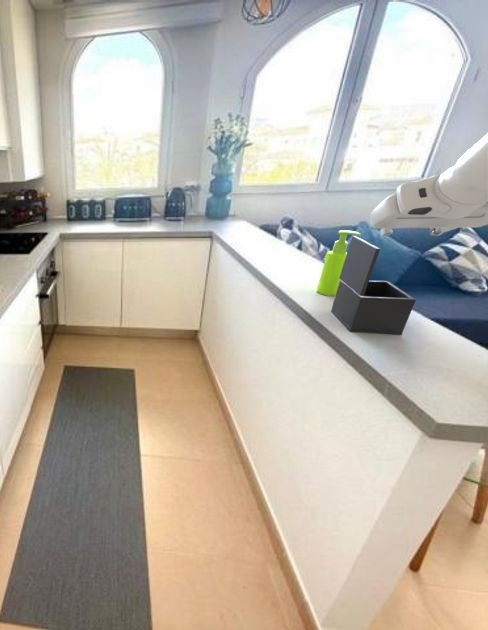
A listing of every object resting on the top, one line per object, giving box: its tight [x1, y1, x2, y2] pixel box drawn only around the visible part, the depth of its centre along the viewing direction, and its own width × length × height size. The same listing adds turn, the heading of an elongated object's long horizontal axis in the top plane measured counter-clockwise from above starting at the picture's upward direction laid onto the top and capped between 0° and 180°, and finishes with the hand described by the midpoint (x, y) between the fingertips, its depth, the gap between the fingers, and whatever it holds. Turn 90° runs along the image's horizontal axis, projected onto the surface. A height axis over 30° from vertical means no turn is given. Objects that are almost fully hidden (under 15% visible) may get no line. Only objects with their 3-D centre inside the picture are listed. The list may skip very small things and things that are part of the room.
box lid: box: [339, 235, 381, 296], centre depth 88 cm, size 12×13×1 cm
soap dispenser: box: [316, 230, 362, 297], centre depth 107 cm, size 6×7×20 cm
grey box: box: [330, 280, 417, 336], centre depth 91 cm, size 11×13×10 cm
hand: (408, 233), depth 80 cm, fingers open, 8 cm apart
